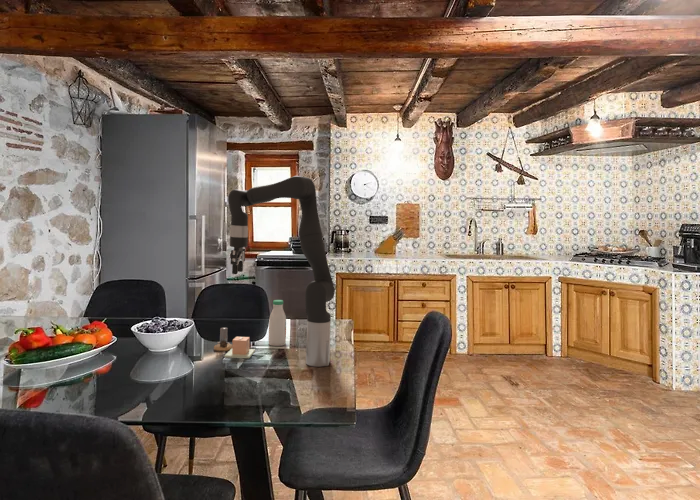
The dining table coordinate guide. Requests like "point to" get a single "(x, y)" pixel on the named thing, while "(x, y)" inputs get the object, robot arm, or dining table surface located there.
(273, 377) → the dining table surface
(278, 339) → the milk bottle
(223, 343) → the post
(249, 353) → the pad
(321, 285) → the robot arm
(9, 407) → the dining table surface
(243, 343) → the salmon orange cube
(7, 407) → the dining table surface
